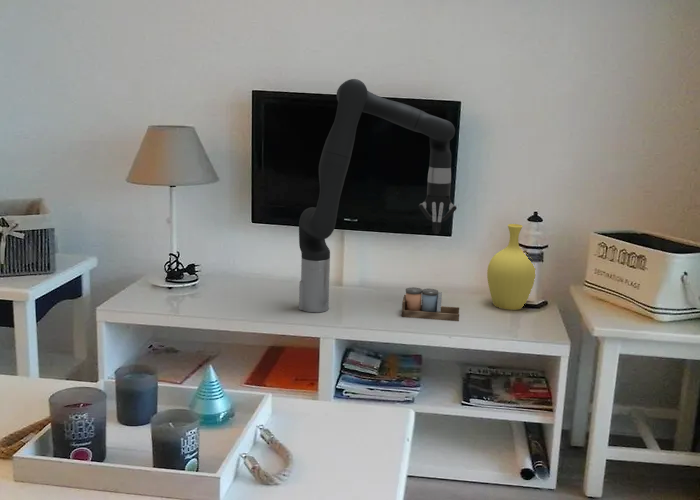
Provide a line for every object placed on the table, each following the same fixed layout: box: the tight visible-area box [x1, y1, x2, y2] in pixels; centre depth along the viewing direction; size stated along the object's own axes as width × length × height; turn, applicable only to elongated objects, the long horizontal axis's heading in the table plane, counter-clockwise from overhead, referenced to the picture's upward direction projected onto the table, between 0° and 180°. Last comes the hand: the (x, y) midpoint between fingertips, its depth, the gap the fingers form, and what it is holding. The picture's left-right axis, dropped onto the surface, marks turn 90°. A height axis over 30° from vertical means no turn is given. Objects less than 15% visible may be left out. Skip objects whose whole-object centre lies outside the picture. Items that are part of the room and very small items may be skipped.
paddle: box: [437, 291, 443, 313], centre depth 250 cm, size 1×6×7 cm, turn 172°
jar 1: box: [405, 287, 423, 311], centre depth 251 cm, size 5×5×8 cm
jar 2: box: [421, 288, 439, 312], centre depth 251 cm, size 5×5×8 cm
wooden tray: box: [401, 294, 460, 322], centre depth 251 cm, size 18×8×6 cm, turn 82°
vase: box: [486, 223, 536, 311], centre depth 265 cm, size 16×16×28 cm
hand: (436, 232), depth 261 cm, fingers closed
